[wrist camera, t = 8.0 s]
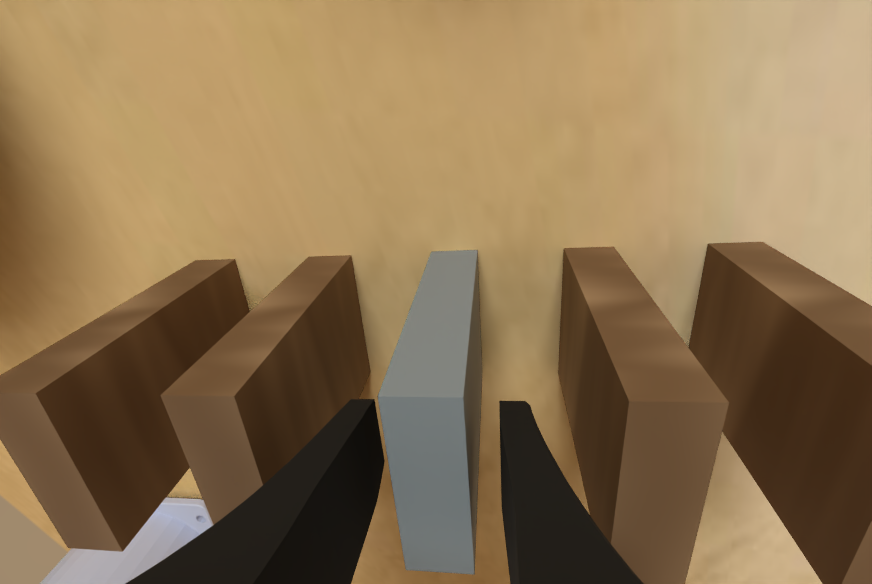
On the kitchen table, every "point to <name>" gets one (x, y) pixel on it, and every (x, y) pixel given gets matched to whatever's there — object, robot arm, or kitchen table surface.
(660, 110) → the kitchen table surface
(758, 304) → the walnut domino
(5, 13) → the kitchen table surface
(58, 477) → the walnut domino
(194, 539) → the robot arm
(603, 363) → the walnut domino
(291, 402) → the walnut domino
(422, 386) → the grey domino
